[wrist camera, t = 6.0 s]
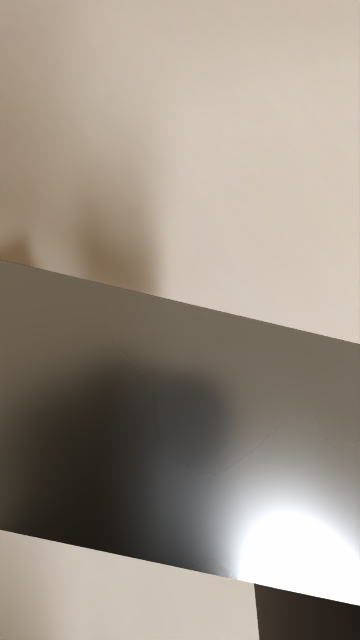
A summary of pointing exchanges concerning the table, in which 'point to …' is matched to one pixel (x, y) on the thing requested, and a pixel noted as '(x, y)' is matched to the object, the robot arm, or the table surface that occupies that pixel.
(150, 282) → the table surface
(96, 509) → the gray rectangular block
